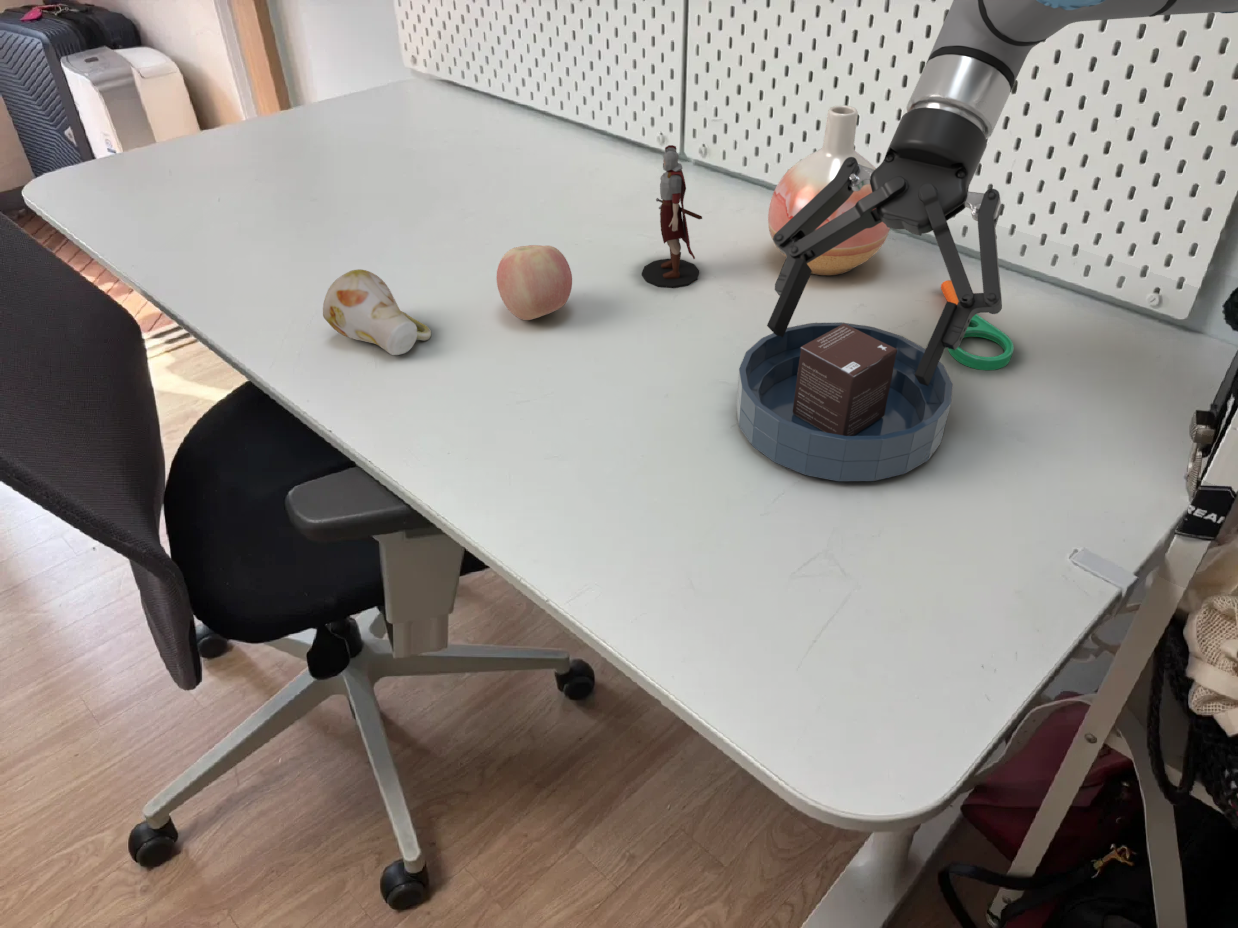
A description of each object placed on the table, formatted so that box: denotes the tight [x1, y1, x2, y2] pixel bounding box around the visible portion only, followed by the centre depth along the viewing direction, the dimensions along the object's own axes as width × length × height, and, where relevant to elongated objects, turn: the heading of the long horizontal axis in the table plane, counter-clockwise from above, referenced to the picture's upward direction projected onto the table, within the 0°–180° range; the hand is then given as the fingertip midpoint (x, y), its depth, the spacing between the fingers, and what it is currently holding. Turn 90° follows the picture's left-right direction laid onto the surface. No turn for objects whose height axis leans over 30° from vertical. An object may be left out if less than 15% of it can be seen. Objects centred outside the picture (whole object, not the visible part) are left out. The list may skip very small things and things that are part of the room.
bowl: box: [735, 321, 954, 482], centre depth 84 cm, size 18×18×5 cm
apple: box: [496, 244, 573, 321], centre depth 98 cm, size 8×8×8 cm
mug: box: [322, 269, 432, 356], centre depth 96 cm, size 8×10×10 cm
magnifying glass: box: [940, 279, 1015, 371], centre depth 96 cm, size 15×6×2 cm, turn 0°
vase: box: [767, 104, 891, 276], centre depth 103 cm, size 14×14×18 cm
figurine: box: [641, 144, 703, 289], centre depth 103 cm, size 7×7×15 cm
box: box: [793, 324, 897, 436], centre depth 82 cm, size 6×6×7 cm
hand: (845, 355), depth 80 cm, fingers open, 13 cm apart
